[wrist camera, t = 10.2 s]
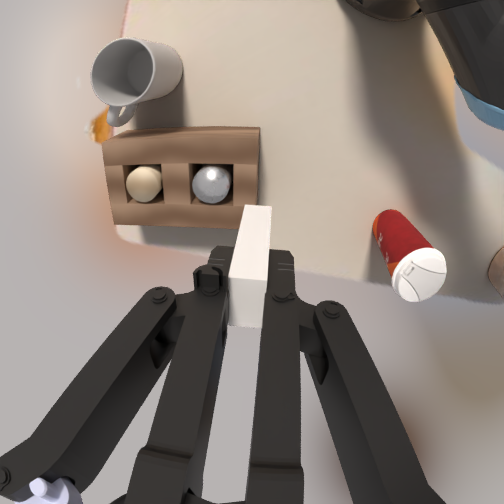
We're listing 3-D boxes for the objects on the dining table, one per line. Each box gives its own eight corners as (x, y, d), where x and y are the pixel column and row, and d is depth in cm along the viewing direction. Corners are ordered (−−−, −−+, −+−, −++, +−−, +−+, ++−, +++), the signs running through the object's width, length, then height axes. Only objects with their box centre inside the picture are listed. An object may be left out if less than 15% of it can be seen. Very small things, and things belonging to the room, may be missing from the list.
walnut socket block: (126, 130, 41) (101, 142, 34) (259, 127, 40) (257, 138, 33) (134, 201, 47) (114, 224, 40) (257, 204, 46) (254, 229, 40)
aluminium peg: (204, 152, 42) (191, 168, 35) (235, 152, 42) (228, 169, 35) (205, 181, 44) (193, 202, 37) (235, 182, 44) (228, 203, 37)
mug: (141, 37, 33) (104, 29, 23) (193, 53, 34) (168, 47, 25) (113, 109, 39) (73, 122, 29) (160, 127, 40) (129, 145, 31)
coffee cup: (356, 232, 48) (382, 291, 35) (386, 193, 44) (426, 242, 31) (390, 254, 50) (420, 313, 37) (419, 219, 46) (460, 272, 33)
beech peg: (146, 153, 42) (124, 169, 35) (174, 152, 42) (156, 168, 35) (149, 181, 44) (128, 202, 38) (176, 181, 44) (159, 202, 38)
